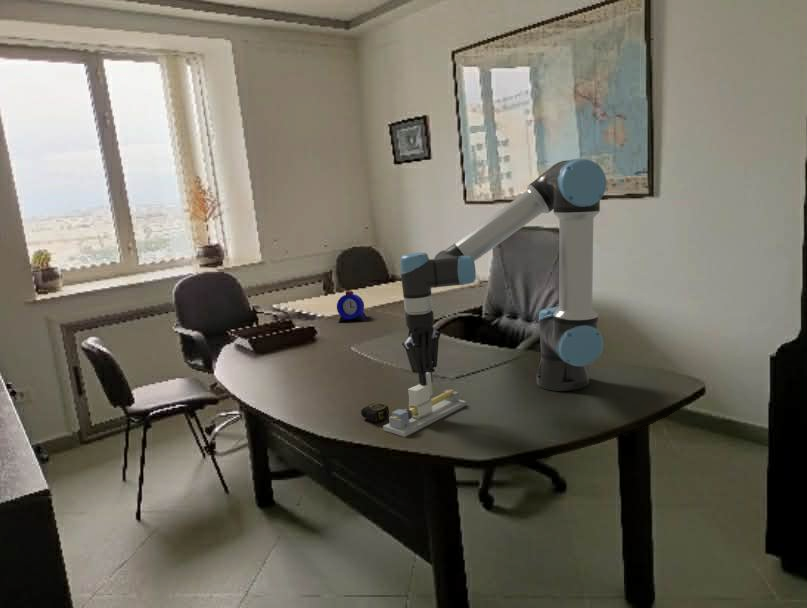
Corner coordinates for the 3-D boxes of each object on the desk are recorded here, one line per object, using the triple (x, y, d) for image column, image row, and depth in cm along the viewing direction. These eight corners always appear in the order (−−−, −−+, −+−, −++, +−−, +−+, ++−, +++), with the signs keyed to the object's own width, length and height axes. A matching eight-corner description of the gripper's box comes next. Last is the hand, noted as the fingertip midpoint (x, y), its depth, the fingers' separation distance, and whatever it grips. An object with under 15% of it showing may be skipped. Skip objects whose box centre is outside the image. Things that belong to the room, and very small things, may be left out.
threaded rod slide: (445, 400, 179) (443, 383, 178) (466, 405, 173) (464, 388, 172) (383, 430, 162) (381, 412, 161) (404, 436, 156) (402, 418, 155)
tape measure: (360, 419, 171) (359, 407, 171) (381, 412, 175) (379, 400, 174) (373, 426, 166) (371, 413, 165) (394, 418, 169) (392, 405, 169)
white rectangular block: (422, 410, 169) (419, 383, 168) (432, 412, 166) (429, 385, 165) (409, 416, 166) (407, 388, 164) (420, 418, 163) (417, 391, 161)
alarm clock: (337, 323, 296) (333, 293, 293) (344, 317, 307) (340, 288, 305) (362, 321, 293) (358, 291, 290) (367, 315, 305) (364, 286, 302)
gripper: (425, 305, 170) (433, 385, 174) (391, 315, 161) (401, 400, 166) (445, 307, 165) (453, 390, 169) (412, 318, 156) (421, 405, 160)
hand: (427, 395), depth 167 cm, fingers closed
